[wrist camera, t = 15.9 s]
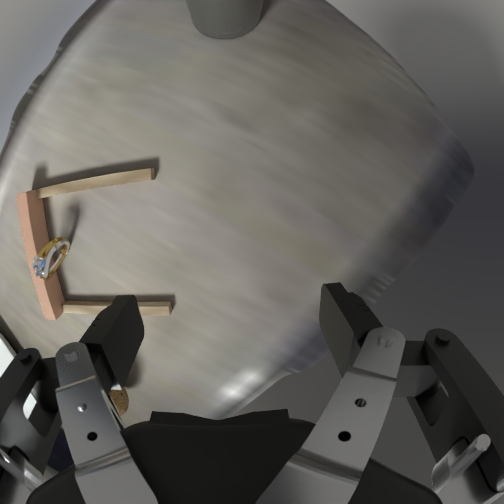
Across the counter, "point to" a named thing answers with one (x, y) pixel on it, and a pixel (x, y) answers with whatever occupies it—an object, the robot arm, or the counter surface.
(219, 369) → the counter surface
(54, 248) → the ring
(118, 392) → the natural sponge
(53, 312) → the bar
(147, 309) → the birch track
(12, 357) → the square plate
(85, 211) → the counter surface
